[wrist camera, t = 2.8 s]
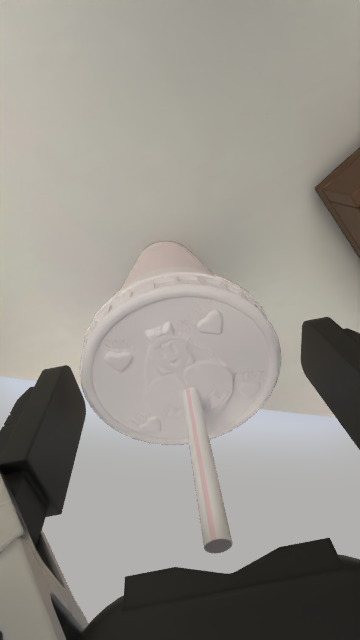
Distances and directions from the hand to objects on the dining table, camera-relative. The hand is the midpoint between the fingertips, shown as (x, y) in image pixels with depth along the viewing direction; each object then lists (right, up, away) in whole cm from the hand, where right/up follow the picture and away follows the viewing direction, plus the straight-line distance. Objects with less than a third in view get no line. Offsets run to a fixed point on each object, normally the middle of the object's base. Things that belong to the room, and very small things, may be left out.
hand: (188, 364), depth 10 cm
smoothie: (-1, +4, +8) cm, 9 cm away
